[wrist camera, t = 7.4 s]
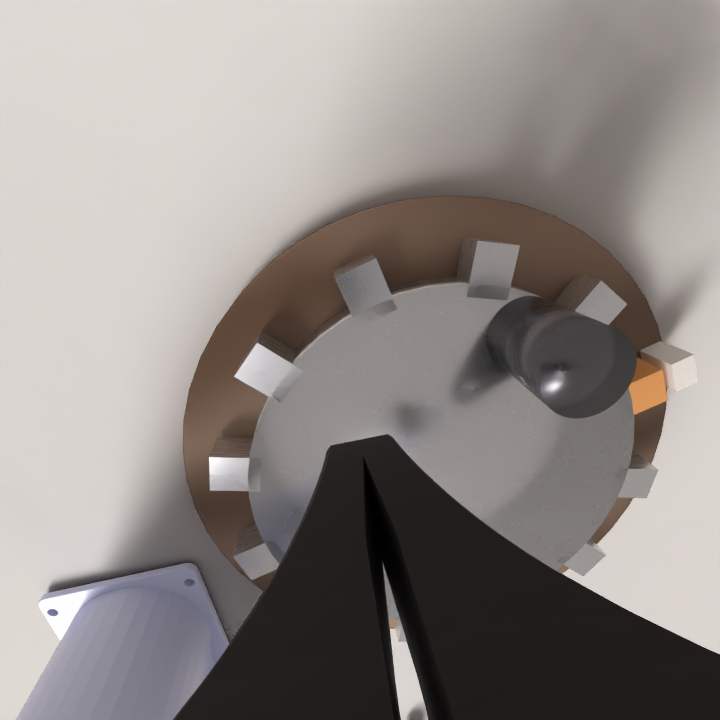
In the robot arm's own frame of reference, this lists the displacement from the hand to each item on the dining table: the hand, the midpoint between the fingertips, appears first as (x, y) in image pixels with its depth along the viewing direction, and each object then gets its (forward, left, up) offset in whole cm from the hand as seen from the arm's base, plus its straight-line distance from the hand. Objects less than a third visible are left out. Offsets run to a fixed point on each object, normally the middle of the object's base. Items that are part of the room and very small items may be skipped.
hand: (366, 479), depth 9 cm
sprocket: (-6, -4, -9) cm, 11 cm away
